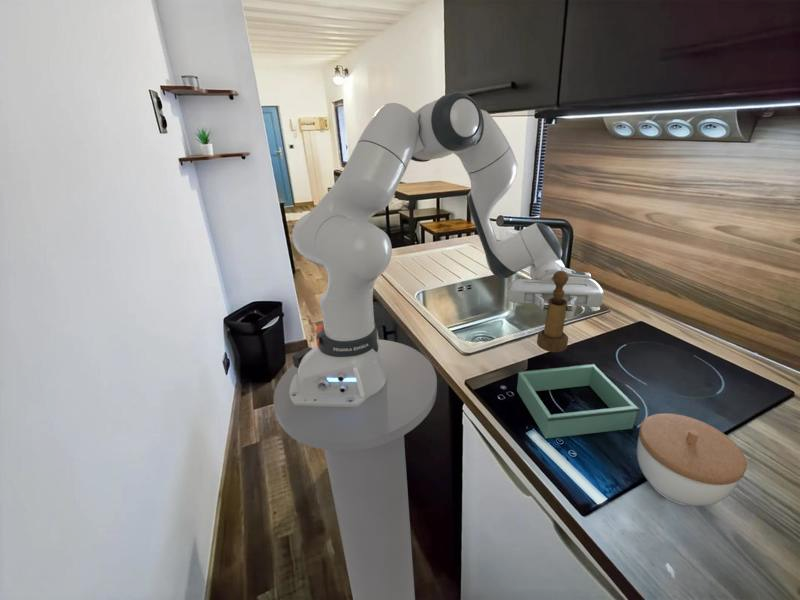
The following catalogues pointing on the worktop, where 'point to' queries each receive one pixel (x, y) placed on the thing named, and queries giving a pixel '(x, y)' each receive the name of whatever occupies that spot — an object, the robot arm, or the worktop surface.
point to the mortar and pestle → (555, 318)
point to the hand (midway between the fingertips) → (557, 307)
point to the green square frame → (584, 421)
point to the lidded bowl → (688, 459)
